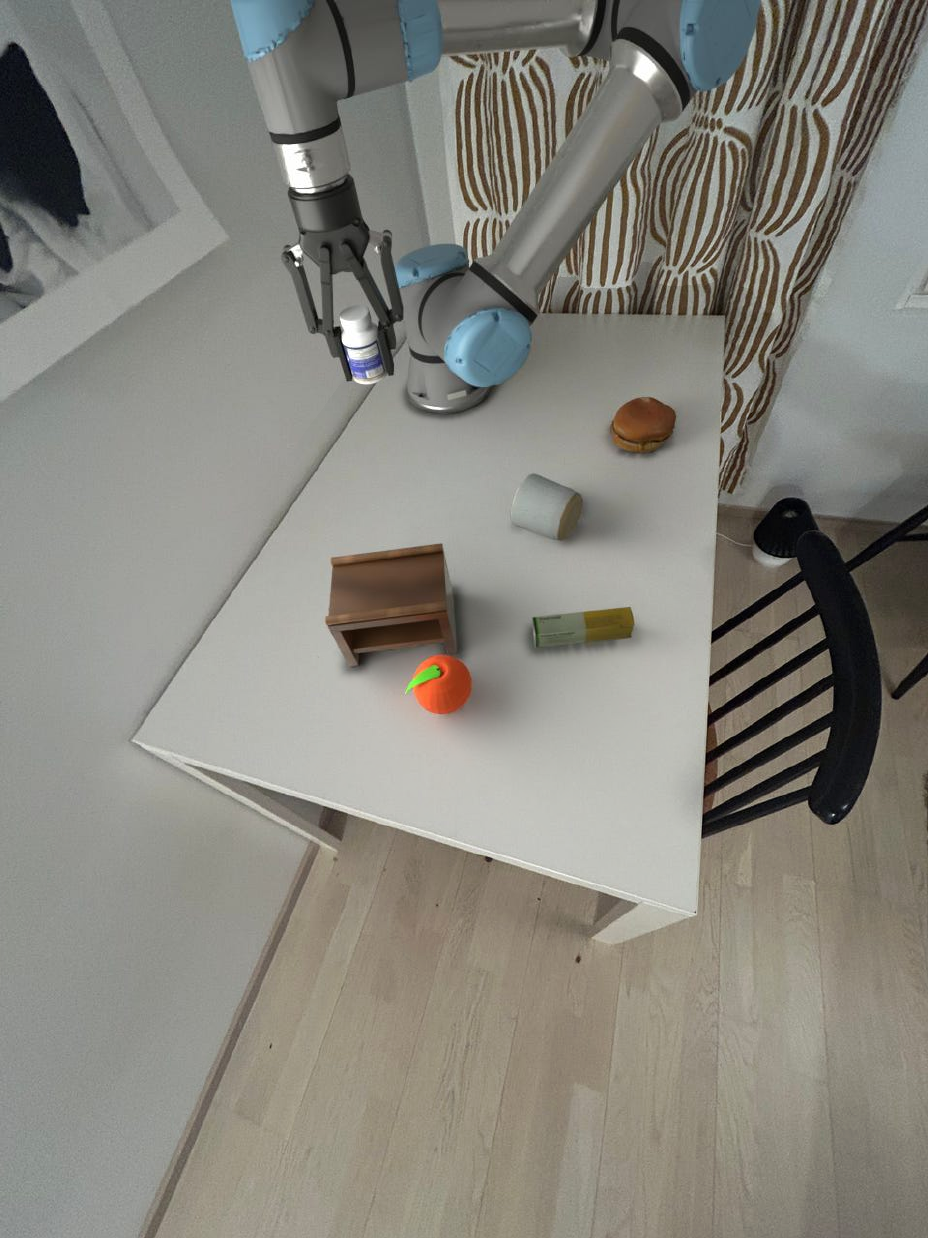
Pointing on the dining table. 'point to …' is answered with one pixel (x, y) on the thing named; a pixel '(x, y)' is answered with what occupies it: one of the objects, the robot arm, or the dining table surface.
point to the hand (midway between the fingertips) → (370, 372)
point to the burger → (643, 425)
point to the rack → (391, 601)
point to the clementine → (441, 684)
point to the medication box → (583, 627)
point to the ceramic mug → (546, 507)
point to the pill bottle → (362, 345)
